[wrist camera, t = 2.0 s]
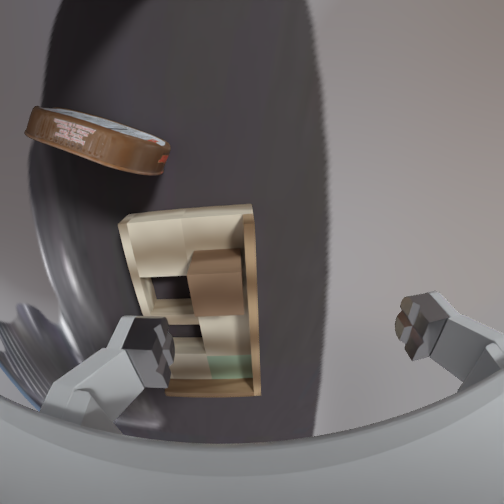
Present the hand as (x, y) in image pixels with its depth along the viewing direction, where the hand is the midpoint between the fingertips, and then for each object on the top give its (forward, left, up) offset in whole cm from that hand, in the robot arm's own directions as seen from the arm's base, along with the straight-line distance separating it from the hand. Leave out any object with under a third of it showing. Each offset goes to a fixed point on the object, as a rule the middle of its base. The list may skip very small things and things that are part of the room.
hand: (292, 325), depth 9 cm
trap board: (+14, -7, -20) cm, 25 cm away
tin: (-7, -14, -20) cm, 25 cm away
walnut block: (+7, -4, -17) cm, 18 cm away
